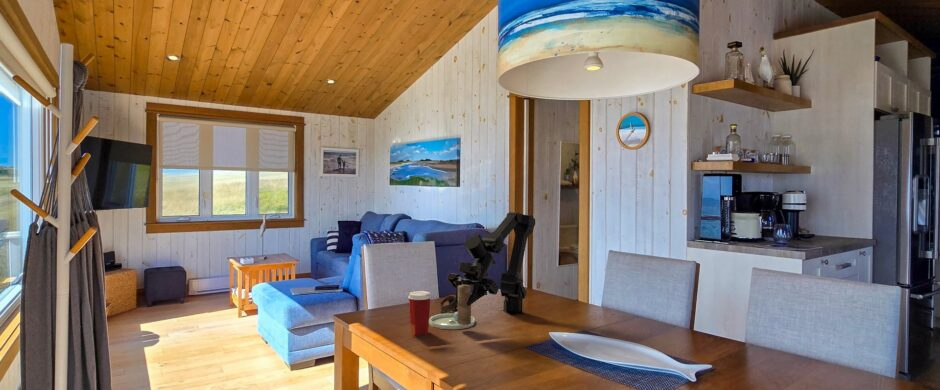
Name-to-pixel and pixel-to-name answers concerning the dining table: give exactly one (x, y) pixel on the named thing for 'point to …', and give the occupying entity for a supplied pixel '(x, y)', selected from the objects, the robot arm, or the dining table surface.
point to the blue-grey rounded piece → (456, 316)
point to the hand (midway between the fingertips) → (461, 304)
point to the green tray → (448, 321)
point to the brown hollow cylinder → (451, 305)
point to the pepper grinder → (464, 305)
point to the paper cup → (419, 312)
